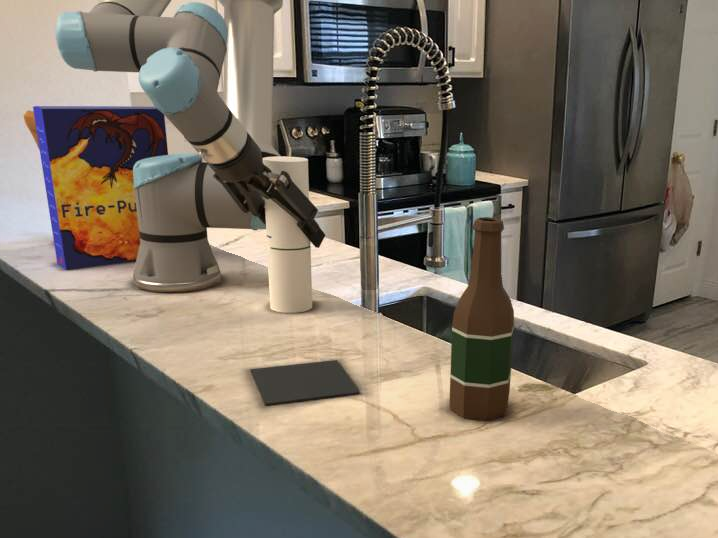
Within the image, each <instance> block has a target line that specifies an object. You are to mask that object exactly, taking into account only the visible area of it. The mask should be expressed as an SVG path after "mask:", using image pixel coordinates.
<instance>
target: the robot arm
mask: <svg viewBox="0 0 718 538" xmlns="http://www.w3.org/2000/svg"><path fill="white" fill-rule="evenodd" d="M217 1H218V2H219V4H220V5H222V7H223V15H222V14H221V13H220V12H219V11H218V10H217V9H215V8H214V7H212V6H210V5H209V4H206V3H203V2H198V1H190V2H188V3H185V4H183V5H180V6H179V7H178V8H177V10H176V12H175V13H174V15H173V17H172V16H171V17H170V16H162V15H163V14H164V12H165V11H166V9H167V8H168V6H169V5H170V3H171V2H172V0H98V1H97V2H96V3H95V5H94V6H93V8H91V10H89V12H84V11H81V10H77V11H66V12H63V13H61V14H60V15H59V16H58V18H57V20H56V24H55V41H56V45H57V48H58V51H59V54H60V56H61V58H62V60H63V61H64V63H65V64H66V65H68V66H69V67H70V68H72V69H77V70H84V71H85V70H87V71H93V72H94V73H96V72H117V73H118V72H119V73H138V82H139V85H140V88H141V89H142V90H143V92H144V93H145V94H146V96H147V98H149V99H150V101H151V103H152V104H153V107H156V108H157V109H158V110H159V111H161V112H162V113H163V114H164V117H165V118H166V119H167V120H168V121H169V122H170V123H171V124H172V125H173V126H174V128H175V129H177V131H178V132H180V134H181V135H182V136H183V138H184V139H185V140H186V141H187V143H189V144H190V145H191V147H192V148H193V149H194V150H195V151H196V152H188V153H187V152H185V153H173V154H168V155H163V156H156V157H150V158H145V159H142V160H139V161H137V162H136V163H135V165H134V167H133V179H134V185H133V189H134V193H135V201H136V210H137V218H138V226H139V234H140V247H139V251H138V255H137V259H136V262H135V265H134V269H133V276H132V277H133V284H134V286H135V287H137V288H139V289H141V290H144V291H151V292H159V293H180V292H181V293H182V292H183V293H184V292H193V291H198V290H205V289H208V288H211V287H214V286H216V285H217V284H219V283H220V282H222V275H221V274H222V273H221V269H220V265H219V264H218V261H217V258H216V256H215V254H214V251H213V249H212V247H211V244H210V242H209V237H208V229H234V230H252V231H258V230H266V216H265V199H271V200H272V201H274V202H275V203H276V204H277V205H279V206H280V207H281V208H282V209H283V210H285V211H286V212H287V213H288V214H289V215H291V216H292V217H293V218H294V219H296V220H297V221H298V223H297V226H298V227H299V228H300V229H301V230H302V232H303V233H304V234H305V235H306V237H307V238H308V239H309V240H310V243H311V244H312V246H314V248H316V249H320V247H321V245H322V243H323V241H324V239H325V237H326V234H325V232H324V231H323V230H322V228H321V227H320V225H319V223H318V222H317V220H316V219H315V217H316V216H317V214H318V212H319V209H318V208H317V207H316V206H315V205H314V203H312V201H311V200H310V198H309V199H308V198H307V197H306V196H305V195H304V194H303V193H302V191H301V190H300V189H299V188H298V187H297V186H296V185H295V184H294V183H293V181H292V180H291V178H290V176H289V174H288V173H287V172H285V171H282V172H281V173H280V175H279V174H275V173H272V171H271V170H270V169H269V168H268V167H267V166H265V165H264V164H263V158H265V157H276V156H281V154H279V152H278V151H277V150H276V149H275V148H274V145H273V140H274V139H273V137H274V136H273V130H274V129H273V128H274V126H273V125H274V52H275V51H274V47H275V44H274V43H275V39H274V37H275V33H274V32H275V14H276V13H277V12H279V11H280V10H281V9H282V8H283V5H284V0H217ZM222 70H223V71H222ZM222 72H223V98H222V97H221V96H220V95H219V92H218V90H219V85H220V79H221V75H222ZM203 160H204V161H203ZM271 184H272V185H271ZM270 186H271V187H270ZM269 188H270V189H269ZM268 190H269V191H268ZM267 191H268V192H267Z"/></svg>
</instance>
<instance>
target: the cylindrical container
mask: <svg viewBox="0 0 718 538" xmlns="http://www.w3.org/2000/svg"><path fill="white" fill-rule="evenodd" d="M263 164H264V165H265V166H267V167H268V168H269V169H270V170H271V171H272V173H275V174H279V175H280V173H281V172H282V171H285V172H287V173H288V174H289V176H290V178H291V180H292V181H293V183H294V184H295V185H296V186H297V187H298V188H299V189H300V190H301V191H302V193H303V194H304V195H305V196H306V197H307V198H308V199H309V200H310V184H309V183H310V182H309V181H310V180H309V159H308V158H305V157H300V156H285V155H284V156H281V155H280V156H276V157H265V158H263ZM271 185H272V184H271ZM270 187H271V186H270ZM269 189H270V188H269ZM268 191H269V190H268ZM268 191H267V192H268ZM265 216H266V229H265V232H266V233H265V234H266V251H267V252H266V254H267V271H268V292H269V308H270V309H271V310H272V311H274V312H276V313H284V314H294V313H296V314H297V313H304V312H307V311H310V310H311V309H312V308H313V286H312V285H313V282H312V249H311V248H312V247H311V244H312V243H311V241H310V240H309V239H308V238H307V237H306V235H305V234H304V233H303V232H302V230H301V229H300V228H299V227H298V226H297V223H298V221H297V220H296V219H294V218H293V217H292V216H291V215H289V214H288V213H287V212H286V211H285V210H283V209H282V208H281V207H280V206H279V205H277V204H276V203H275V202H274V201H272V200H271V199H265Z"/></svg>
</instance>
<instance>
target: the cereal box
mask: <svg viewBox="0 0 718 538" xmlns="http://www.w3.org/2000/svg"><path fill="white" fill-rule="evenodd" d="M32 111H34V117H35V124H36V130H37V136H38V143H39V148H38V150H39V149H40V150H39V155H40V162H41V169H42V176H43V181H44V186H45V187H44V188H45V195H46V200H47V206H48V207H47V208H48V212H49V220H50V226H52V227H51V231H52V237H53V244H54V249H55V250H54V252H55V258H56V264H57V265H59V266H60V267H61V268H63V269H65V271H69V270H70V271H71V270H78V269H87V268H94V267H103V266H112V265H119V264H127V263H136V259H137V255H138V251H139V247H140V234H139V226H138V218H137V210H136V201H135V193H134V189H133V185H134V179H133V167H134V165H135V163H136V162H137V161H139V160H142V159H145V158H150V157H156V156H163V155H169V149H168V139H167V128H166V116H165V115H164V114H163V113H162V112H161V111H159V110H158V109H157V108H156V107H155V106H130V105H129V106H127V105H126V106H123V105H122V106H120V105H119V106H118V105H117V106H114V105H113V106H112V105H108V106H107V105H106V106H105V105H104V106H103V105H102V106H101V105H99V106H98V105H85V106H84V105H50V106H49V105H35V106H32Z"/></svg>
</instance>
